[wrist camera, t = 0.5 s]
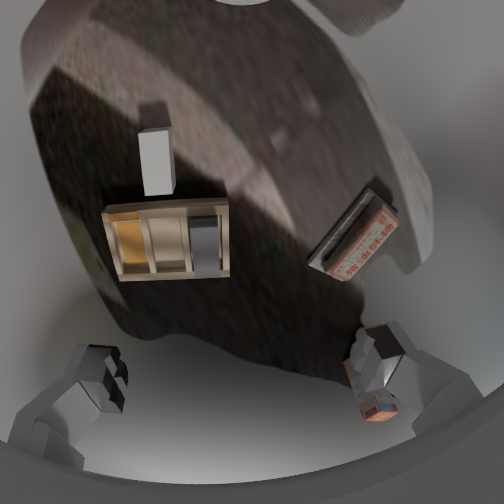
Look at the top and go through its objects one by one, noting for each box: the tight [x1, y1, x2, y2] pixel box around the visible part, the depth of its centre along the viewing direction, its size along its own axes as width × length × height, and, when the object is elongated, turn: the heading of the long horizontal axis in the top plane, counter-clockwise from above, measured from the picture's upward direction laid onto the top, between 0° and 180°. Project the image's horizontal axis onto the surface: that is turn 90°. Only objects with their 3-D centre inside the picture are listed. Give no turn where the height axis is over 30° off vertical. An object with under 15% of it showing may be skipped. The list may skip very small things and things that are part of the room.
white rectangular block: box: [139, 126, 176, 196], centre depth 36 cm, size 9×4×4 cm, turn 178°
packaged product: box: [308, 188, 400, 281], centre depth 48 cm, size 18×5×10 cm
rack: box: [102, 197, 230, 281], centre depth 43 cm, size 13×20×6 cm
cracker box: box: [343, 357, 398, 421], centre depth 69 cm, size 14×6×21 cm, turn 48°
